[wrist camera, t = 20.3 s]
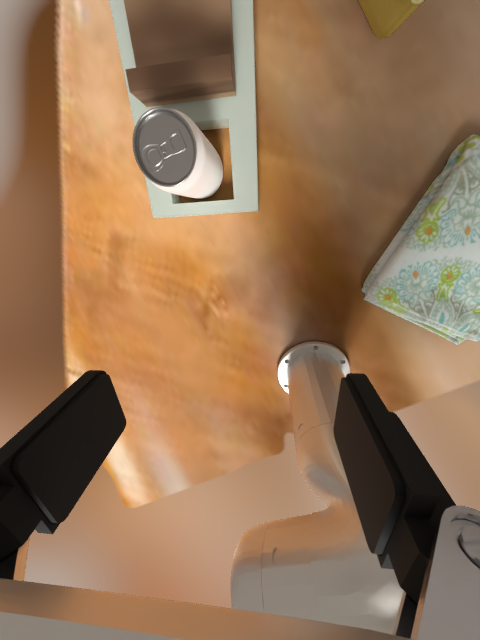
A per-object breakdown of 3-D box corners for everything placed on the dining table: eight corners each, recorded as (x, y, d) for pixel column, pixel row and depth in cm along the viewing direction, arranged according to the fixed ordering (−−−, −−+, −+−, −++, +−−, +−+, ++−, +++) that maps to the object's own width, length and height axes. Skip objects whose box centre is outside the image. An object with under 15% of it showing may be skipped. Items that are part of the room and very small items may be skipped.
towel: (351, 294, 36) (364, 306, 31) (457, 137, 27) (498, 121, 22) (449, 338, 37) (475, 356, 33) (581, 203, 28) (643, 201, 24)
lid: (236, 95, 24) (231, 77, 21) (147, 107, 25) (129, 91, 22) (229, -37, 20) (222, -84, 17) (124, -17, 22) (100, -57, 18)
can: (167, 157, 30) (112, 127, 19) (210, 130, 28) (176, 80, 18) (191, 207, 32) (154, 205, 22) (232, 185, 31) (214, 170, 20)
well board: (258, 211, 32) (258, 210, 29) (162, 217, 33) (153, 218, 31) (253, -6, 23) (251, -35, 21) (124, 17, 25) (107, -7, 22)
